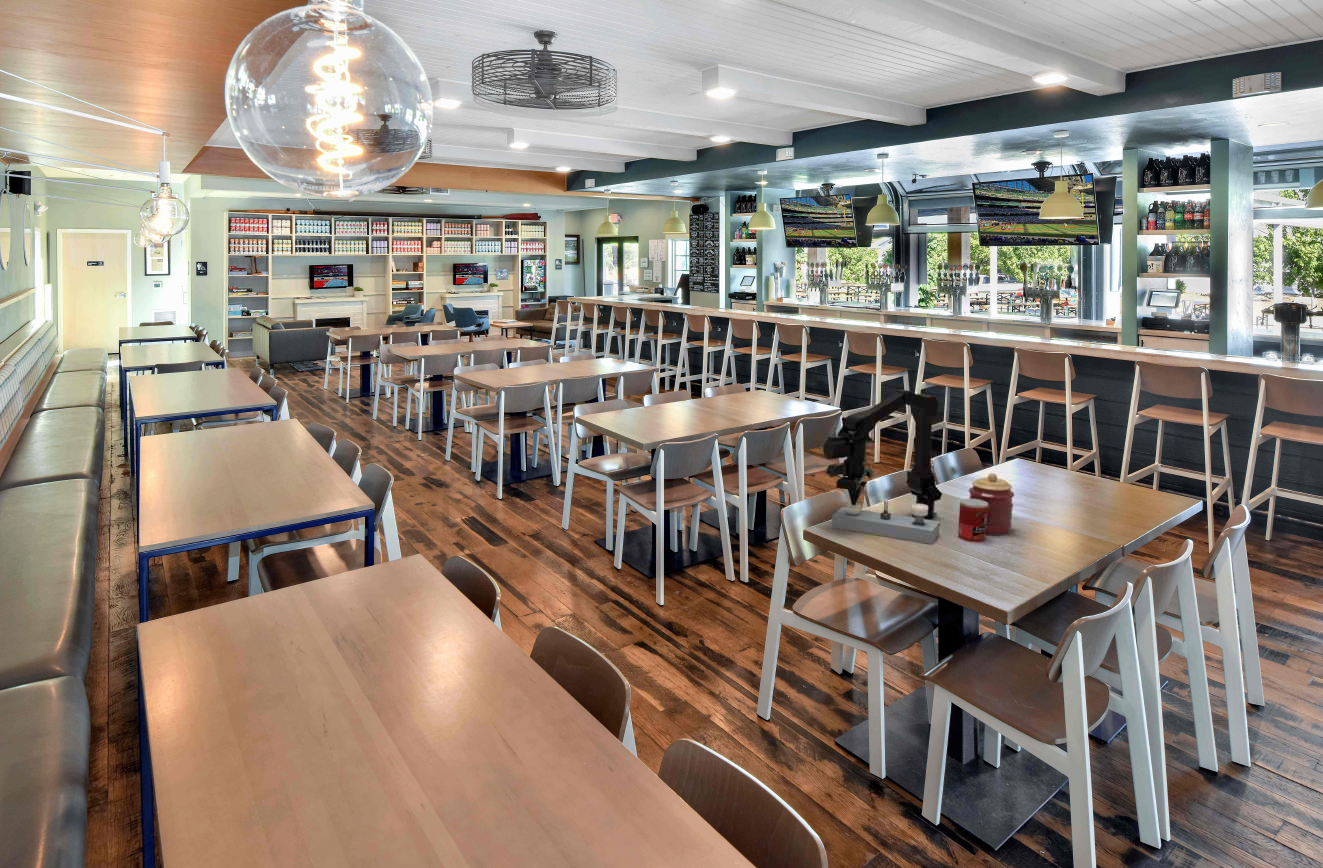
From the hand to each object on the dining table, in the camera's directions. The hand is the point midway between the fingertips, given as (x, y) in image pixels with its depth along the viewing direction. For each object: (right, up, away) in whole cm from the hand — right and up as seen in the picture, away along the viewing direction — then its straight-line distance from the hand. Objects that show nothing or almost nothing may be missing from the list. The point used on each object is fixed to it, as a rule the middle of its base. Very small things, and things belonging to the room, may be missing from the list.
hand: (853, 504), depth 244 cm
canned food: (+33, -9, -10) cm, 35 cm away
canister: (+41, -7, -2) cm, 42 cm away
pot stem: (+9, -4, -4) cm, 10 cm away
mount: (+9, -8, -4) cm, 12 cm away
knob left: (0, -5, +1) cm, 6 cm away
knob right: (+17, -5, -9) cm, 20 cm away
